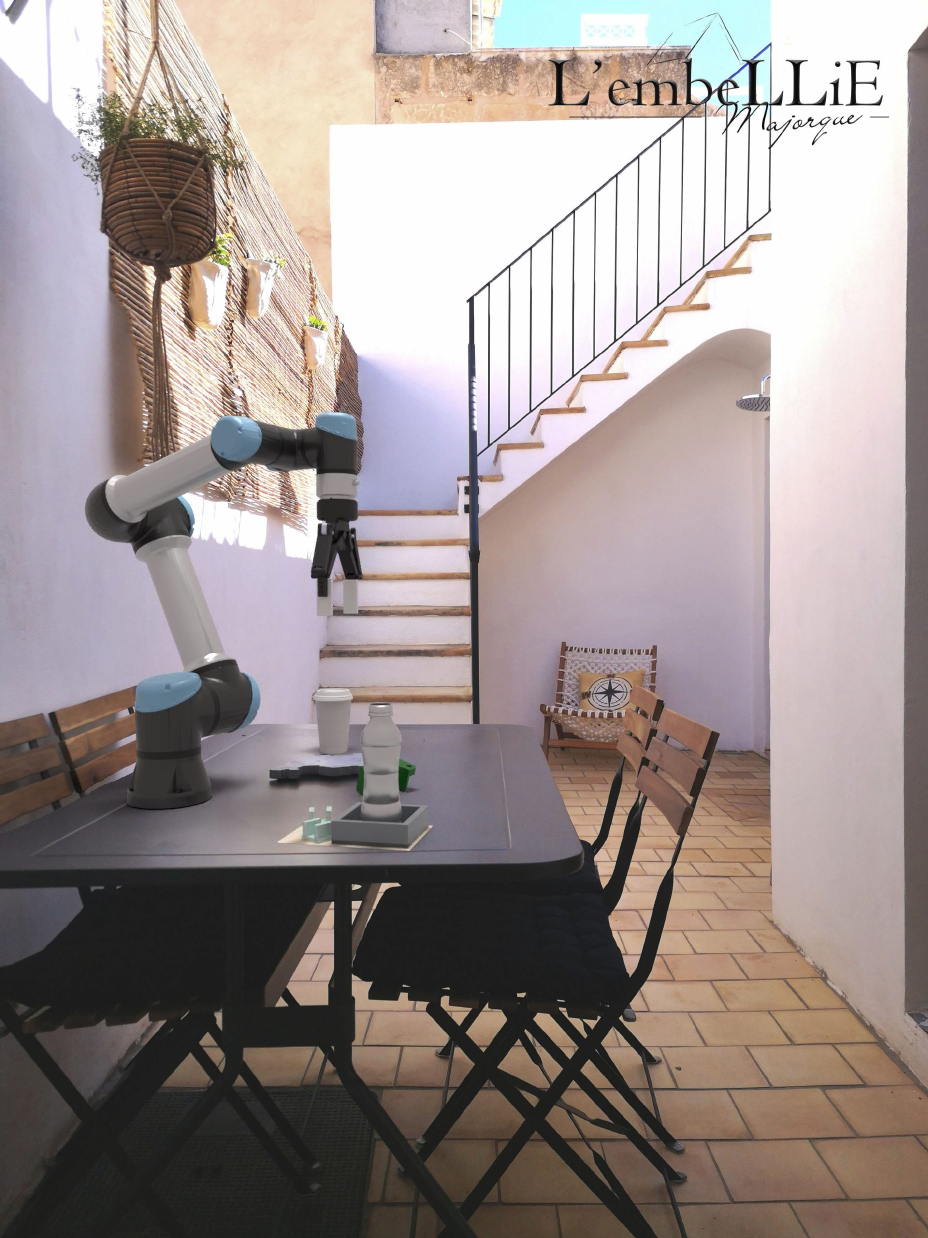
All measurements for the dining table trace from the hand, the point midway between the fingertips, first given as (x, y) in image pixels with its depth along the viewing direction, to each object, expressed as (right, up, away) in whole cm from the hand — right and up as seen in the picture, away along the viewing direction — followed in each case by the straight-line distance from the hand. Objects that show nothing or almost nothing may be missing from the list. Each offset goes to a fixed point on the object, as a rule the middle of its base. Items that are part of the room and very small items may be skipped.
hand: (338, 614), depth 164 cm
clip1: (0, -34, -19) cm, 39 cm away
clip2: (+1, -35, -27) cm, 44 cm away
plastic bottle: (+10, -34, -25) cm, 44 cm away
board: (+6, -36, -24) cm, 43 cm away
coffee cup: (-8, -33, +51) cm, 62 cm away
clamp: (+8, -35, +8) cm, 37 cm away
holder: (+10, -35, -25) cm, 44 cm away
